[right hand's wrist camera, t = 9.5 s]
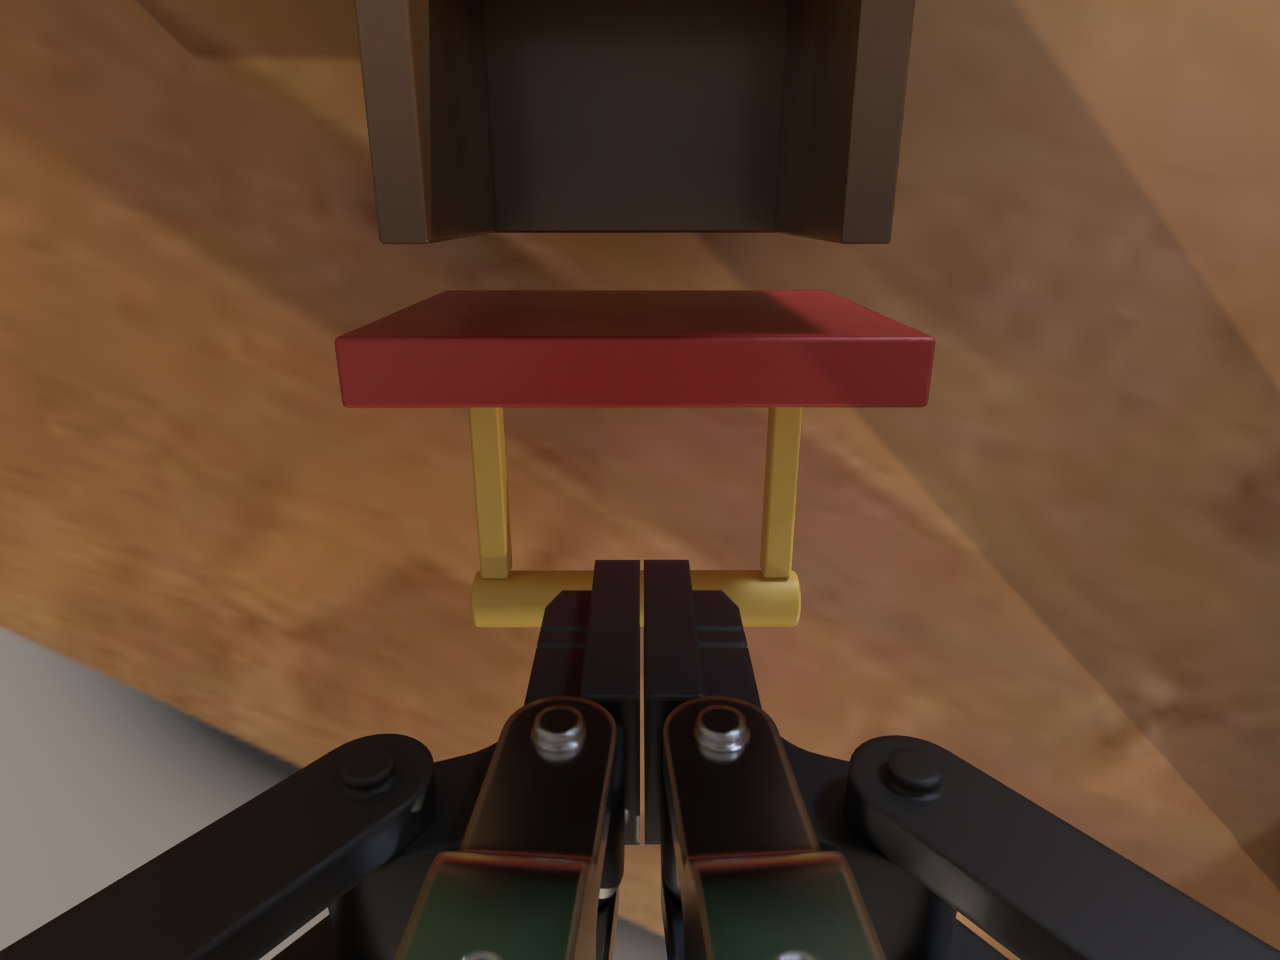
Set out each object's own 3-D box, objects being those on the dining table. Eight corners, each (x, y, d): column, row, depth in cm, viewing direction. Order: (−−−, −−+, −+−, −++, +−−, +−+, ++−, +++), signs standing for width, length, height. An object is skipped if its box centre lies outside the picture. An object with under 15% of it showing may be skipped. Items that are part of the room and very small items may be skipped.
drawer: (808, 534, 22) (893, 693, 15) (463, 534, 22) (377, 695, 15) (905, -702, 14) (1191, -1675, 7) (362, -704, 14) (69, -1682, 7)
